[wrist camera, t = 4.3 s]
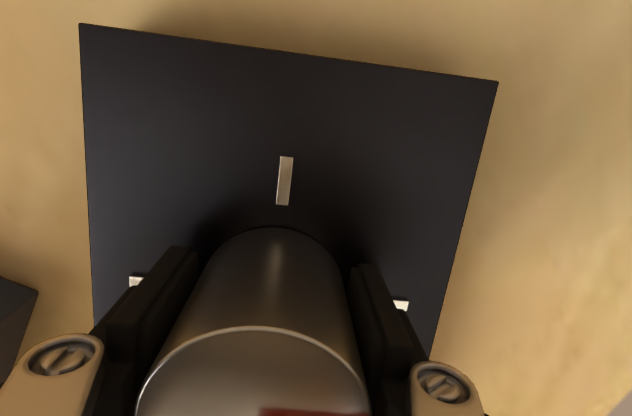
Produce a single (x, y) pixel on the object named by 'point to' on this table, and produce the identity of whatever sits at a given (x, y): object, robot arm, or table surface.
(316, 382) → the hob knob
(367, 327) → the robot arm
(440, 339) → the table surface
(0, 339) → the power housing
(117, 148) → the panel
